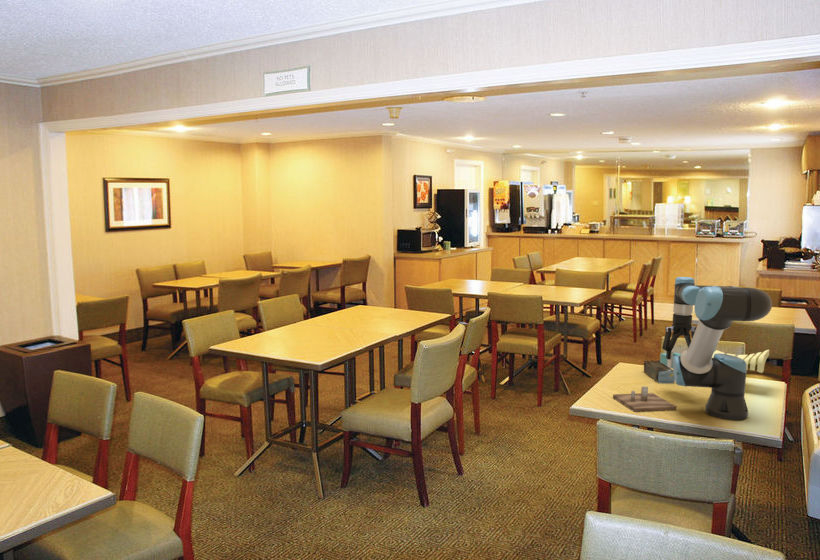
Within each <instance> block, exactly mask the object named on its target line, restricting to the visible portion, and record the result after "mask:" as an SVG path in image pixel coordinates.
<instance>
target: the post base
mask: <svg viewBox="0 0 820 560" xmlns="http://www.w3.org/2000/svg"><path fill="white" fill-rule="evenodd" d="M648 391H649V387H647V386H641V390H640V393H636V391H635V390H631V392H630V393H619V394H618V393H617V394H612V398H613V400H615V401H617V402H619V403H620V404H622V405H623V406H624V405H625V407H626V408H627V409H629V410H631V411H632V410H633V411H632V412H634V413H641V412H640V411H647V412H661V411H662V412H664V411H665V410H667V411H677V407H678V406H677V405H675V404H673V403H671V402H670V401H667V400H666V399H664V398H662V397H661V396H659V395H657V394H655V393H654V392H648ZM665 412H666V411H665Z"/></svg>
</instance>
